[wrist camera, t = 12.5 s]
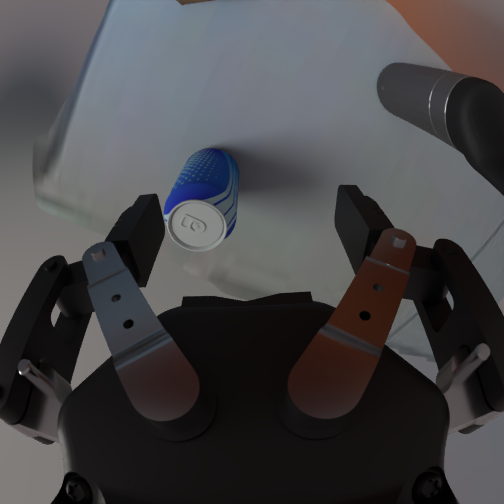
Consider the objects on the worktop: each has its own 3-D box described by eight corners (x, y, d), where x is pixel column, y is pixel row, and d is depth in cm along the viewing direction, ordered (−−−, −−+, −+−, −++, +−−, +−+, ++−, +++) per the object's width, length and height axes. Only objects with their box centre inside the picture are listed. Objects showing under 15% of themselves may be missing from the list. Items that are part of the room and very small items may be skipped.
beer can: (226, 137, 39) (216, 180, 26) (247, 184, 44) (247, 245, 31) (176, 158, 40) (144, 209, 28) (199, 201, 45) (181, 266, 33)
